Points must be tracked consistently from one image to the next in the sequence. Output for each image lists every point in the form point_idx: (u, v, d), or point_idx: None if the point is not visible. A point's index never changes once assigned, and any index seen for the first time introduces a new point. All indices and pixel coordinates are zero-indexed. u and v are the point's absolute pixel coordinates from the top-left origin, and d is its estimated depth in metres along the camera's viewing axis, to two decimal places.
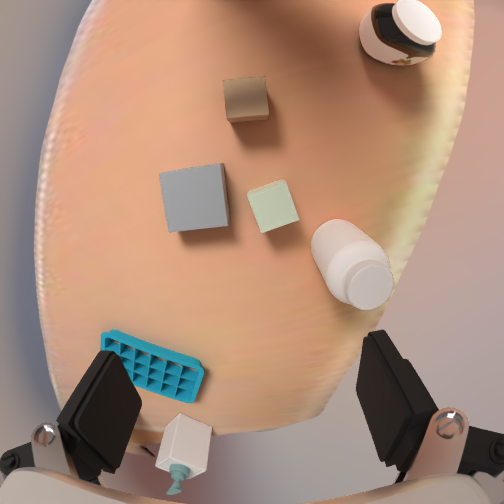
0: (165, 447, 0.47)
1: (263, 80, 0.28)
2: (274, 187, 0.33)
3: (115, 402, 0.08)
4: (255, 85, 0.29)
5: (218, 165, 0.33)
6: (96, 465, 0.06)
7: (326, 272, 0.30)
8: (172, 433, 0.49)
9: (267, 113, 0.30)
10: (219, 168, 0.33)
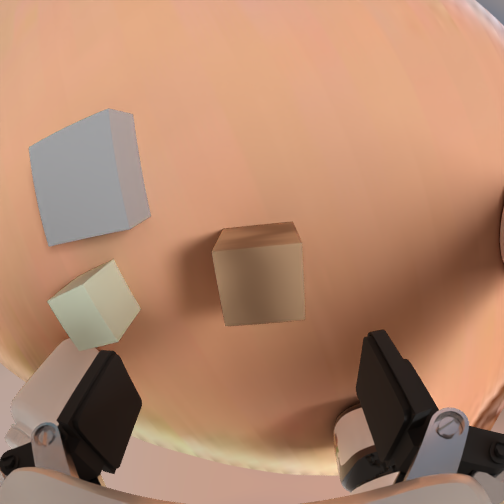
0: None
1: (296, 317, 0.17)
2: (105, 325, 0.18)
3: (115, 402, 0.08)
4: (284, 304, 0.16)
5: (126, 226, 0.16)
6: (96, 465, 0.06)
7: (24, 401, 0.14)
8: None
9: (226, 323, 0.17)
10: (122, 228, 0.16)
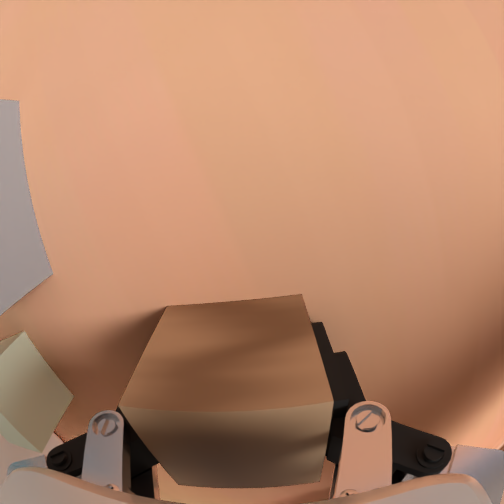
0: None
1: (303, 481, 0.07)
2: (20, 434, 0.07)
3: None
4: (283, 473, 0.06)
5: None
6: None
7: None
8: None
9: (179, 483, 0.07)
10: None
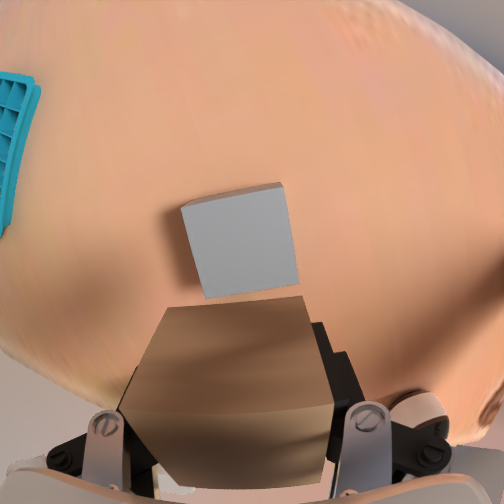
0: None
1: (304, 483, 0.07)
2: None
3: None
4: (283, 475, 0.06)
5: (296, 281, 0.23)
6: None
7: None
8: None
9: (180, 484, 0.07)
10: (292, 283, 0.23)
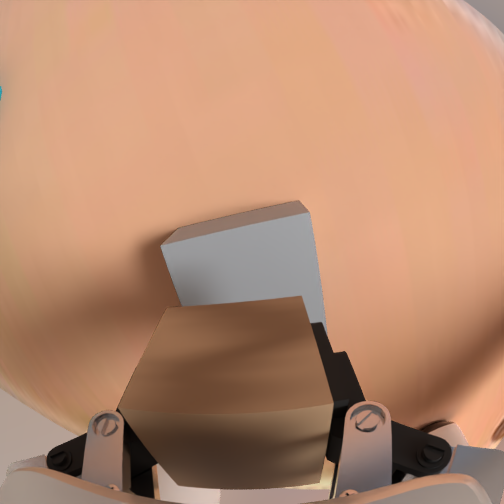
0: None
1: (303, 483, 0.07)
2: None
3: None
4: (283, 475, 0.06)
5: None
6: None
7: None
8: None
9: (179, 484, 0.07)
10: None
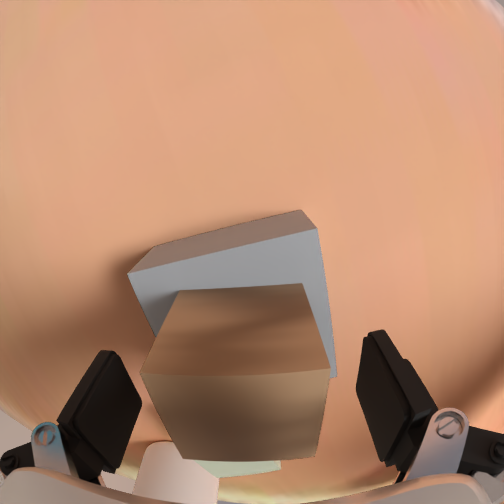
0: None
1: (300, 456, 0.08)
2: (271, 462, 0.14)
3: (115, 402, 0.08)
4: (282, 445, 0.08)
5: (333, 374, 0.13)
6: (96, 465, 0.06)
7: None
8: None
9: (184, 456, 0.08)
10: None
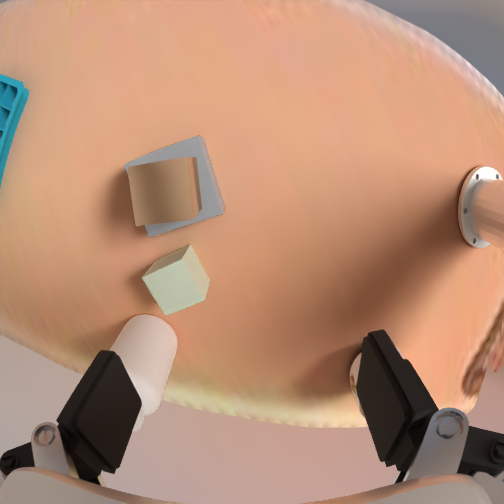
0: None
1: (185, 218, 0.22)
2: (196, 288, 0.28)
3: (115, 402, 0.08)
4: (176, 206, 0.21)
5: (220, 212, 0.27)
6: (96, 465, 0.06)
7: None
8: None
9: (136, 224, 0.22)
10: (216, 214, 0.27)
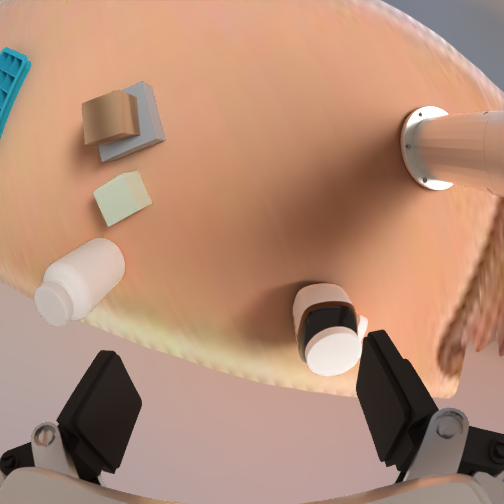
0: None
1: (117, 132, 0.24)
2: (132, 199, 0.31)
3: (115, 402, 0.08)
4: (111, 124, 0.24)
5: (154, 137, 0.29)
6: (96, 465, 0.06)
7: (60, 262, 0.27)
8: None
9: (85, 143, 0.25)
10: (151, 139, 0.29)
